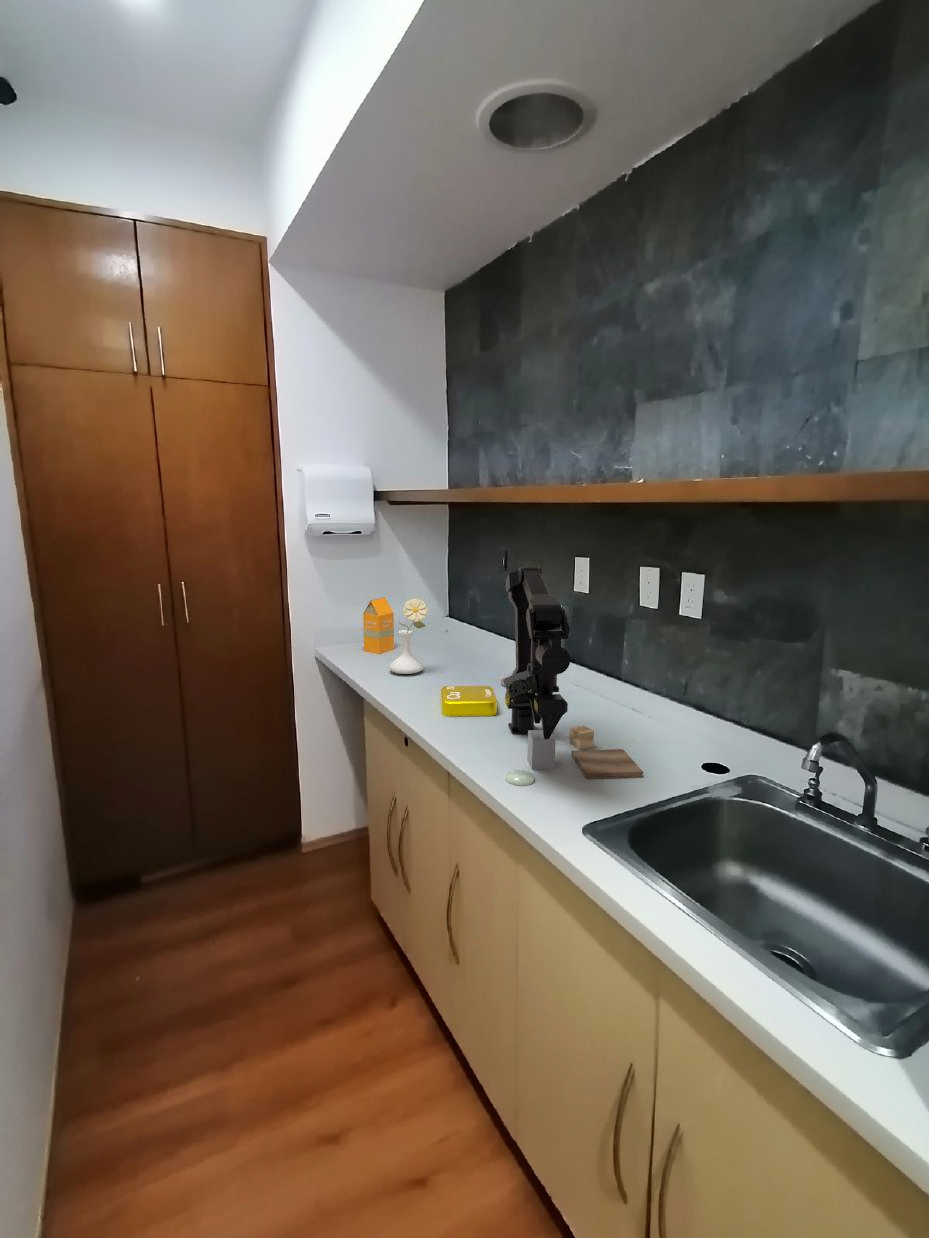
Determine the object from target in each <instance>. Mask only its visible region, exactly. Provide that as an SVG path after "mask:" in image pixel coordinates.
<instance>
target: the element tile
mask: <svg viewBox="0 0 929 1238" xmlns="http://www.w3.org/2000/svg"><path fill="white" fill-rule="evenodd" d="M495 693H496V692H495V691H494V688H493V687H492V686H490V685H451V686H450V685H446V686H442V687H441V688H440V708H441V715H442V716H443V717H449V718H450V717H493V716H496V715H497V714H498V713H497V712H498V711H497V710H498V699H497V696H496V694H495Z"/></svg>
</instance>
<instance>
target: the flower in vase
mask: <svg viewBox="0 0 929 1238" xmlns="http://www.w3.org/2000/svg"><path fill="white" fill-rule="evenodd" d="M428 609H429V608H428V607H427V604H425V601H424V600H421V599H419V598H415V597H414V598H413V599H409V600H408V601H405V604H404V607H403V611H402V613H403V614H404V616H405V618H406V619H407V620H409V621H411V622H412V623H411V625H410V626H408V625H406V624H405V623H401V621H398V624H399V625H400V626H402V627H406V628H408V629H405V630H403V629H402V630H399V631H398V633H399V635H400V638H401V641H402V653H401V654H400V655H399V656H398V657H396V659H394V660H393V661H392V662H391V663H390V665H389V667H388V668H389V670H390V671H391V672H393V673H395V674H399V675H400V674H402V675H408V674H409V675H411V674H416V673H419V672H422V670H423V669H424V664H423V663H422V662H421V661H420V660H419V659H417V657H415V656H414V655H412V653H411V648H410V646H411V645H410V644H411V638H412V636H413V634H414V633H415V632H414V630H410V629H411V628H412V626H414V627H415V628H416V629H422V628H425V627H426V624H425V623H423V621H421V620H424V619H426V617H427V615H428V611H429V610H428Z"/></svg>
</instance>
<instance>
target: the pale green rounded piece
mask: <svg viewBox="0 0 929 1238" xmlns="http://www.w3.org/2000/svg"><path fill="white" fill-rule="evenodd" d="M504 776H505V777H504V780H505V782H506V783H508V784H510V785H512V786H518V787H519V786H520V787H525V786H526V787H527V786H529V785H532V784H533V783H534V782H535V775H534V774H533V773H532V772H530V771H527V770H521V769H520V770H519V769H518V770H517V769H516V770H514V769H513V770H511V771H508V772H506V773H505V775H504Z"/></svg>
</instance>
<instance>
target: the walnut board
mask: <svg viewBox="0 0 929 1238" xmlns="http://www.w3.org/2000/svg"><path fill="white" fill-rule="evenodd" d="M571 757H572V758H573V760H574V762H575V763H576V765H577V766H578V768H579V769H580V771H581V772H582V774H583V775H584V777H585V778H586V779H587V780H589V779H590V780H593V779H617V778H619V779H621V778H624V779H625V778H642V777H643V774H644V771H643V770H642V769H641V767H640V766H639V765H638V764H637V763H636V762H635V761H634V760H633V759H632V757H631V756H630V755H629V754H628V753H627V752H626V751H625V749H624V748H620V749H619V748H613V749H611V748H609V749H608V748H607V749H576V750H571Z"/></svg>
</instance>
